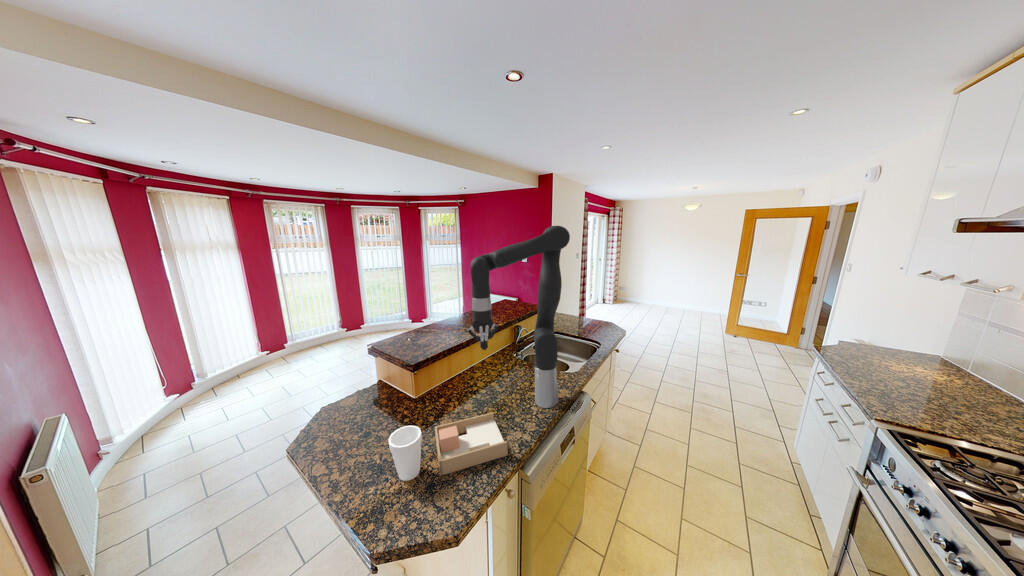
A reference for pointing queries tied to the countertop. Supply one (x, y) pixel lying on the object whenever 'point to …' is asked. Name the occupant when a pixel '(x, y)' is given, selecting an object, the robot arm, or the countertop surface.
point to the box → (472, 444)
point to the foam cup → (406, 451)
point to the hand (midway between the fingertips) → (484, 349)
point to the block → (449, 439)
